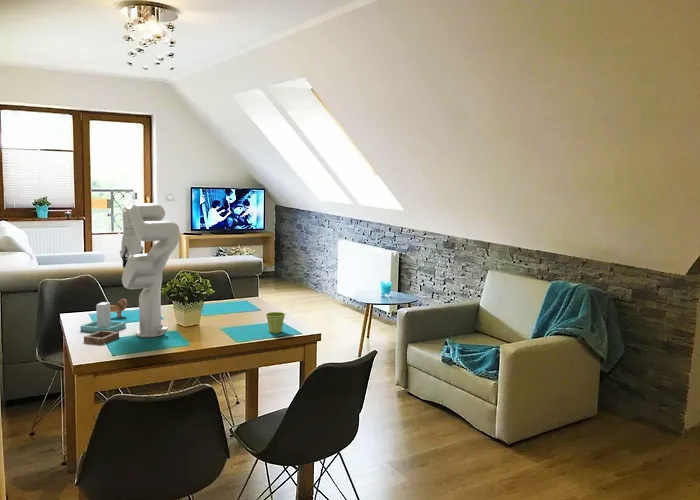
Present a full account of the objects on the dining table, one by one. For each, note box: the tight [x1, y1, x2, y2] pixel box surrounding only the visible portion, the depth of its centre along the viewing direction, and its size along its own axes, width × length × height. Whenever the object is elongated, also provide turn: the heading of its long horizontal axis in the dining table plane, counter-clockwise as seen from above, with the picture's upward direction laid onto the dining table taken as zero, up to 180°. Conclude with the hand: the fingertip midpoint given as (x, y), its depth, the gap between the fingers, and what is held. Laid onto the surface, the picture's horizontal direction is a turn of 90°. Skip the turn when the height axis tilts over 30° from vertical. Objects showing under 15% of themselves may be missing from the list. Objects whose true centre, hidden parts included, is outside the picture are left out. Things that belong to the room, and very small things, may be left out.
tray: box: [80, 319, 127, 334], centre depth 285 cm, size 15×13×2 cm
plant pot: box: [265, 311, 286, 334], centre depth 288 cm, size 9×9×9 cm
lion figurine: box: [110, 298, 128, 318], centre depth 307 cm, size 15×5×9 cm, turn 133°
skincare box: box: [95, 301, 112, 328], centre depth 284 cm, size 6×4×12 cm
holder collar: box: [83, 330, 120, 345], centre depth 267 cm, size 9×11×2 cm
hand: (132, 266), depth 295 cm, fingers open, 9 cm apart
